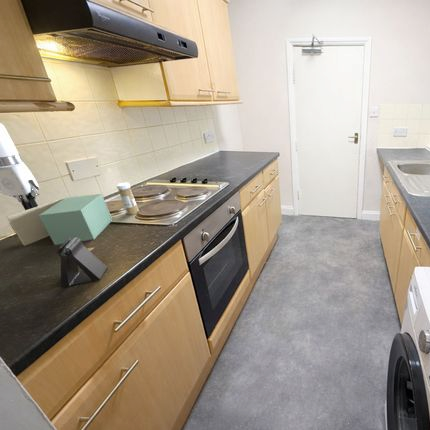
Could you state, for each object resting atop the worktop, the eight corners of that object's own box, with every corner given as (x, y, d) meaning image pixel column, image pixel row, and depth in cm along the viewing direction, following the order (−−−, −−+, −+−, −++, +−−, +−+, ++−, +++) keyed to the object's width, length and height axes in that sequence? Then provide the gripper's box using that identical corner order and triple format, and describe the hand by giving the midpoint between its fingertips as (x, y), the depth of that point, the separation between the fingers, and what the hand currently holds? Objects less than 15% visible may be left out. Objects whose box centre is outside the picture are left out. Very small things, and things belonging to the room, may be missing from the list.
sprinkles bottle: (141, 211, 119) (131, 182, 113) (132, 215, 115) (121, 186, 109) (134, 210, 120) (123, 181, 114) (124, 214, 116) (113, 185, 110)
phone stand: (108, 268, 80) (92, 233, 75) (100, 280, 75) (82, 244, 70) (72, 275, 78) (53, 240, 72) (61, 288, 72) (40, 251, 67)
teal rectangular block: (54, 245, 94) (38, 215, 88) (78, 224, 108) (66, 197, 103) (94, 239, 97) (80, 210, 91) (112, 220, 111) (101, 193, 106)
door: (17, 243, 95) (-1, 215, 90) (70, 223, 109) (57, 197, 104) (25, 245, 93) (7, 216, 88) (77, 224, 108) (64, 198, 103)
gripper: (-29, 164, 86) (2, 215, 94) (14, 164, 85) (42, 215, 93) (-2, 159, 93) (25, 206, 100) (38, 158, 92) (62, 206, 100)
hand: (33, 210), depth 97 cm, fingers closed
